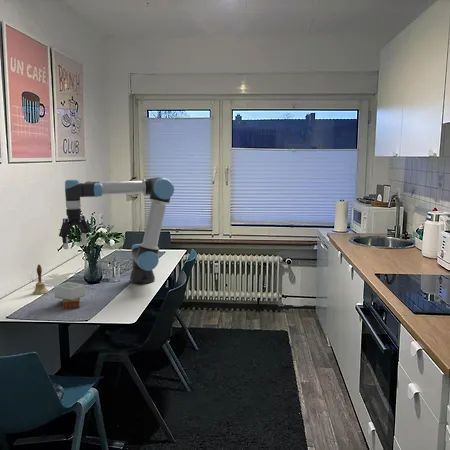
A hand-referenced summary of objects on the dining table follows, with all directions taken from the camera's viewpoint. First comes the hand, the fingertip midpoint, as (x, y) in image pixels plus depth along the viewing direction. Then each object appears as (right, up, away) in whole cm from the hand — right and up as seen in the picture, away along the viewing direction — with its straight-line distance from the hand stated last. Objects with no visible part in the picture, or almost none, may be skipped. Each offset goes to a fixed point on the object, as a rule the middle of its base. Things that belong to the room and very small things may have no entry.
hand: (75, 246), depth 249 cm
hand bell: (-22, -26, +7) cm, 35 cm away
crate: (+2, -25, -13) cm, 29 cm away
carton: (+2, -30, -12) cm, 32 cm away
